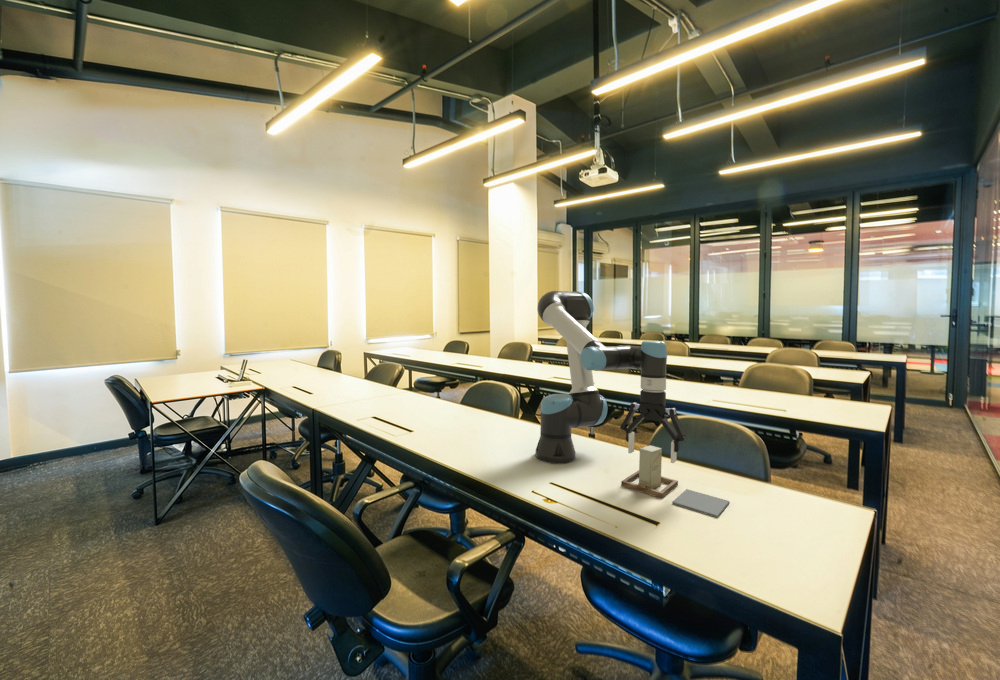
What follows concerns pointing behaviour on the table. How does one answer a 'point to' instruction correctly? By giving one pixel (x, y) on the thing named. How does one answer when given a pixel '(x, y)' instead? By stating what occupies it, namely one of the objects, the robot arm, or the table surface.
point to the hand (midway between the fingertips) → (651, 457)
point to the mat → (701, 503)
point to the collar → (646, 490)
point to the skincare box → (650, 466)
